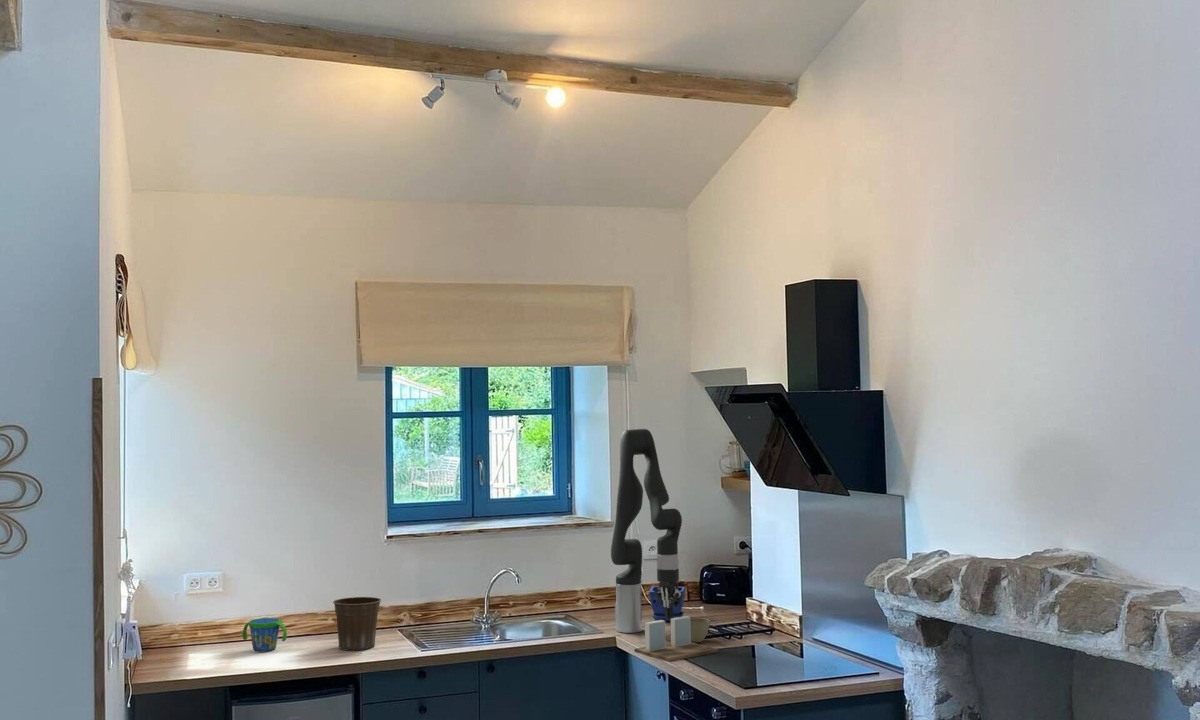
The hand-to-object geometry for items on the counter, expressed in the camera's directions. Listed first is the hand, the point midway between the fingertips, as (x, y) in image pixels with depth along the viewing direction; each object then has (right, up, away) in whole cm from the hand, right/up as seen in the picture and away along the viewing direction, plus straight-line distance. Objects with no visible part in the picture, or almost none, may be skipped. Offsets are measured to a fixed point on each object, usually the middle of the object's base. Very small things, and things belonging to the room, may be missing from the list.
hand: (669, 618), depth 358 cm
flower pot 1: (+3, -12, +46) cm, 47 cm away
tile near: (-5, -7, -11) cm, 15 cm away
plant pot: (-108, -11, +4) cm, 109 cm away
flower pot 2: (+10, -9, +5) cm, 15 cm away
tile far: (+4, -8, -5) cm, 10 cm away
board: (+2, -8, -11) cm, 14 cm away
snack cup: (-139, -12, +1) cm, 140 cm away
